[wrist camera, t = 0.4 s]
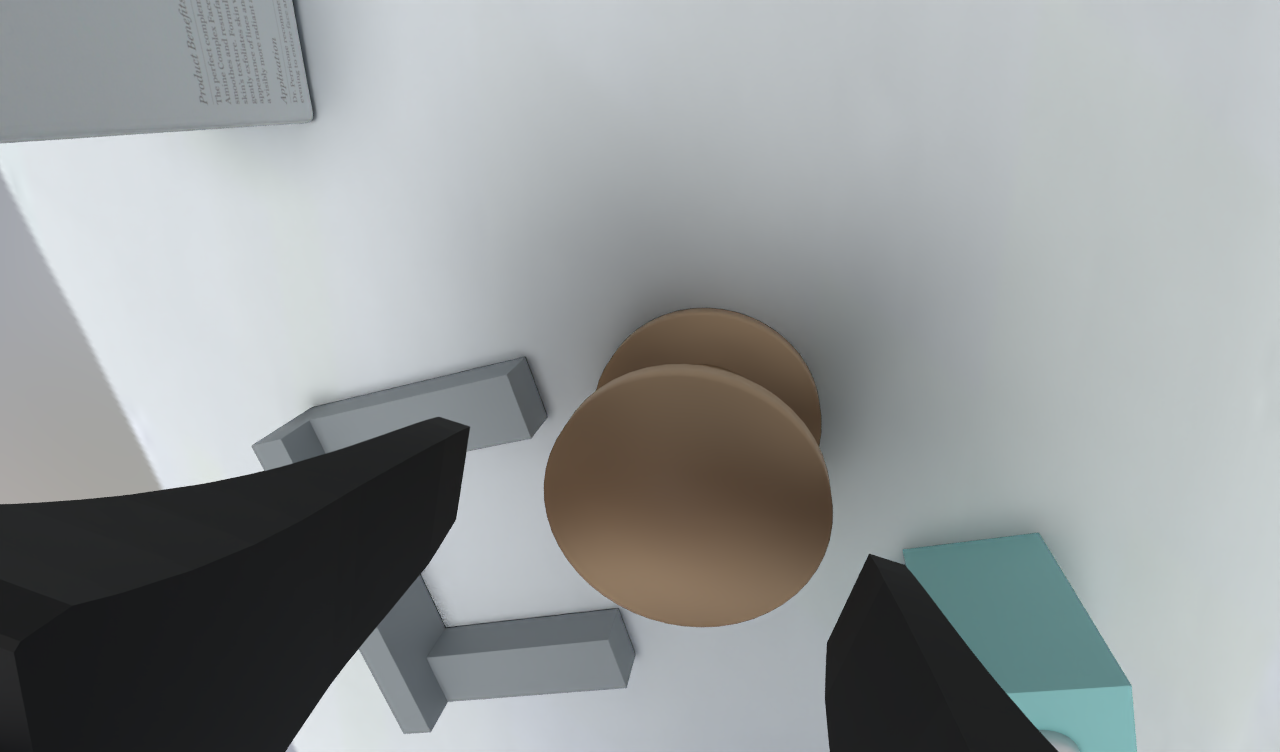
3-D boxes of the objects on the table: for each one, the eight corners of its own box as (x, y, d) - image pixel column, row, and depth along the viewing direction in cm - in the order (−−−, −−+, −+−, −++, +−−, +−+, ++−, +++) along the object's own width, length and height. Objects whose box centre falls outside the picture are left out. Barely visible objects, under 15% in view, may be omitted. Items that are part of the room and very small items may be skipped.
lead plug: (1051, 634, 22) (1154, 835, 16) (922, 646, 23) (972, 837, 17) (1038, 532, 21) (1144, 707, 15) (902, 549, 22) (948, 718, 16)
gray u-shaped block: (635, 654, 26) (617, 720, 23) (440, 672, 28) (403, 733, 25) (525, 356, 22) (488, 392, 19) (310, 407, 24) (251, 445, 21)
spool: (840, 491, 21) (858, 612, 16) (635, 522, 23) (593, 639, 18) (792, 283, 19) (796, 346, 14) (571, 336, 21) (504, 409, 16)
